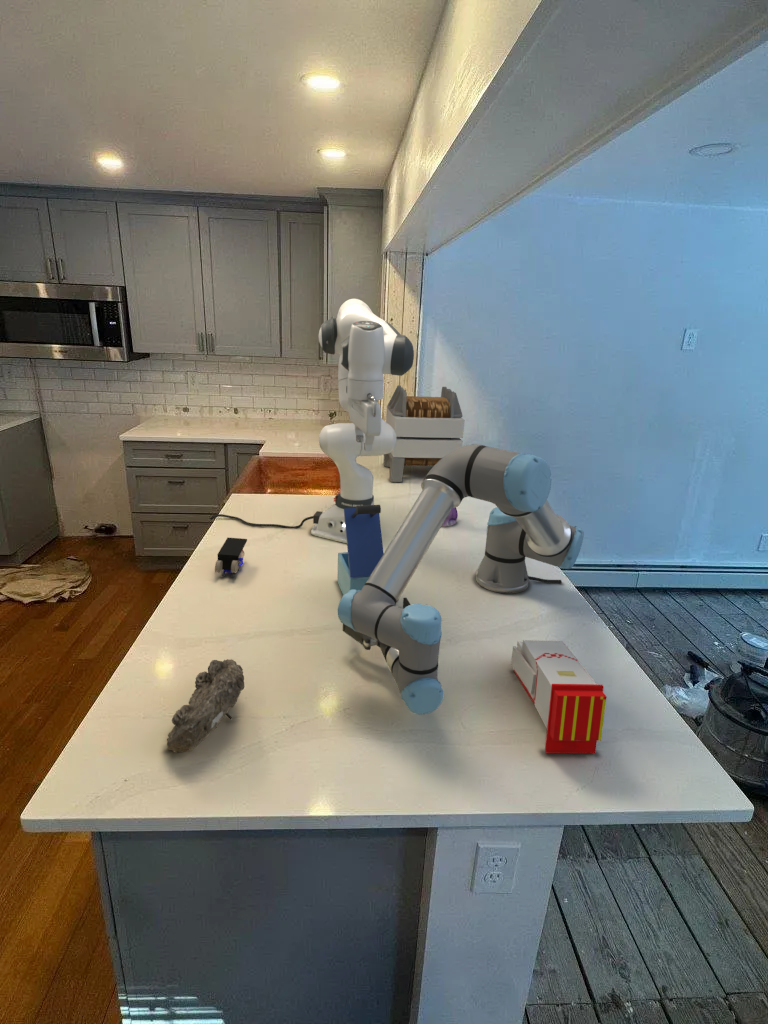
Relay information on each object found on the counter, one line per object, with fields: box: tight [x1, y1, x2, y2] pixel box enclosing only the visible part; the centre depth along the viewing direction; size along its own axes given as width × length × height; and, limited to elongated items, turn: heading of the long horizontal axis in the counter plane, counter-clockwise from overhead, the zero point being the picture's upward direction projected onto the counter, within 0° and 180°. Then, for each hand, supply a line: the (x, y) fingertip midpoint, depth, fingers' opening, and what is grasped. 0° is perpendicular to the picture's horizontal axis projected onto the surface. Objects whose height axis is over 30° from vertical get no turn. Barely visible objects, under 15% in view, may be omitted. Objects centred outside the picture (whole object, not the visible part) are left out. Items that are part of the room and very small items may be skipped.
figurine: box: [441, 507, 459, 527], centre depth 210 cm, size 9×10×15 cm
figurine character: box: [214, 537, 248, 578], centre depth 166 cm, size 7×8×15 cm
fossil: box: [166, 658, 245, 754], centre depth 106 cm, size 22×10×15 cm
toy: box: [510, 639, 607, 754], centre depth 114 cm, size 12×13×30 cm
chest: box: [337, 551, 370, 596], centre depth 155 cm, size 17×9×9 cm, turn 15°
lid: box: [344, 504, 385, 578], centre depth 144 cm, size 18×9×9 cm
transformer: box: [383, 384, 465, 483], centre depth 268 cm, size 34×33×41 cm
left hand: (363, 446), depth 144 cm, fingers open, 8 cm apart
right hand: (377, 604), depth 137 cm, fingers open, 13 cm apart
